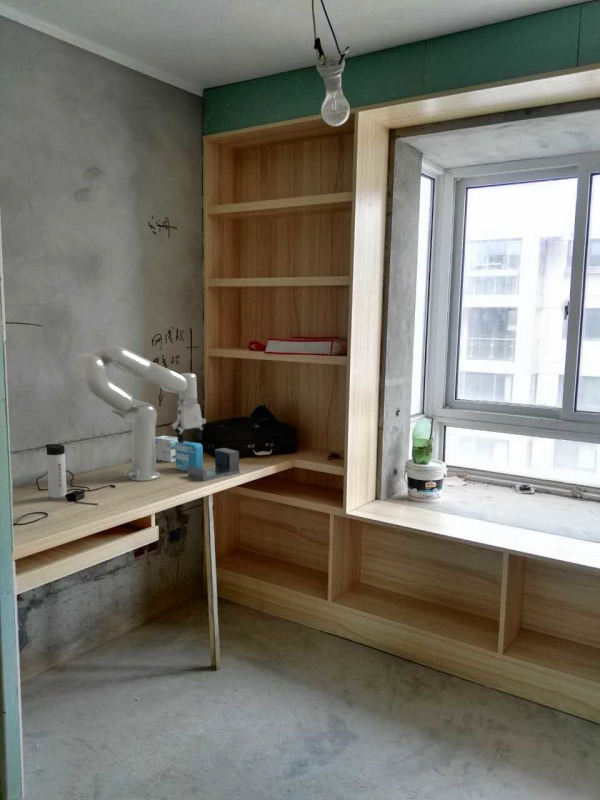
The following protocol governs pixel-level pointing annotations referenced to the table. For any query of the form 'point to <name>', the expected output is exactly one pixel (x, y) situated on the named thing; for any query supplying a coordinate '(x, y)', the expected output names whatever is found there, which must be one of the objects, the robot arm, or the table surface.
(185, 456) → the data package
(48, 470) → the travel mug
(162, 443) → the light bulb box
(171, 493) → the table surface
